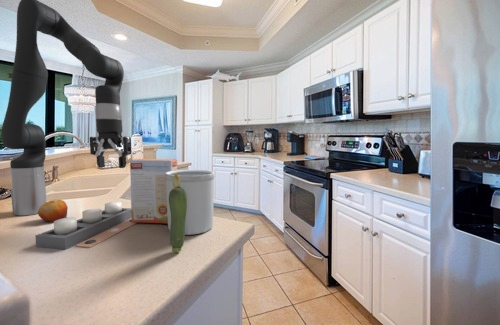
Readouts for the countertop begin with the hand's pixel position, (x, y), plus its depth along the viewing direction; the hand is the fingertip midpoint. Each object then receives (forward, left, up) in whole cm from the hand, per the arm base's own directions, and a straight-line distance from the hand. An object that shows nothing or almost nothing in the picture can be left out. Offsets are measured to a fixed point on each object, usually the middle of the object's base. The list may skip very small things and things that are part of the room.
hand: (111, 167), depth 83 cm
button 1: (0, -18, -16) cm, 24 cm away
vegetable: (+33, -18, -18) cm, 42 cm away
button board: (0, -9, -18) cm, 20 cm away
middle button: (0, -9, -16) cm, 18 cm away
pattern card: (+7, -9, -18) cm, 22 cm away
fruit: (-20, -4, -18) cm, 28 cm away
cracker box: (+15, +1, -18) cm, 24 cm away
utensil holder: (+29, -2, -18) cm, 34 cm away
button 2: (0, 0, -16) cm, 16 cm away
